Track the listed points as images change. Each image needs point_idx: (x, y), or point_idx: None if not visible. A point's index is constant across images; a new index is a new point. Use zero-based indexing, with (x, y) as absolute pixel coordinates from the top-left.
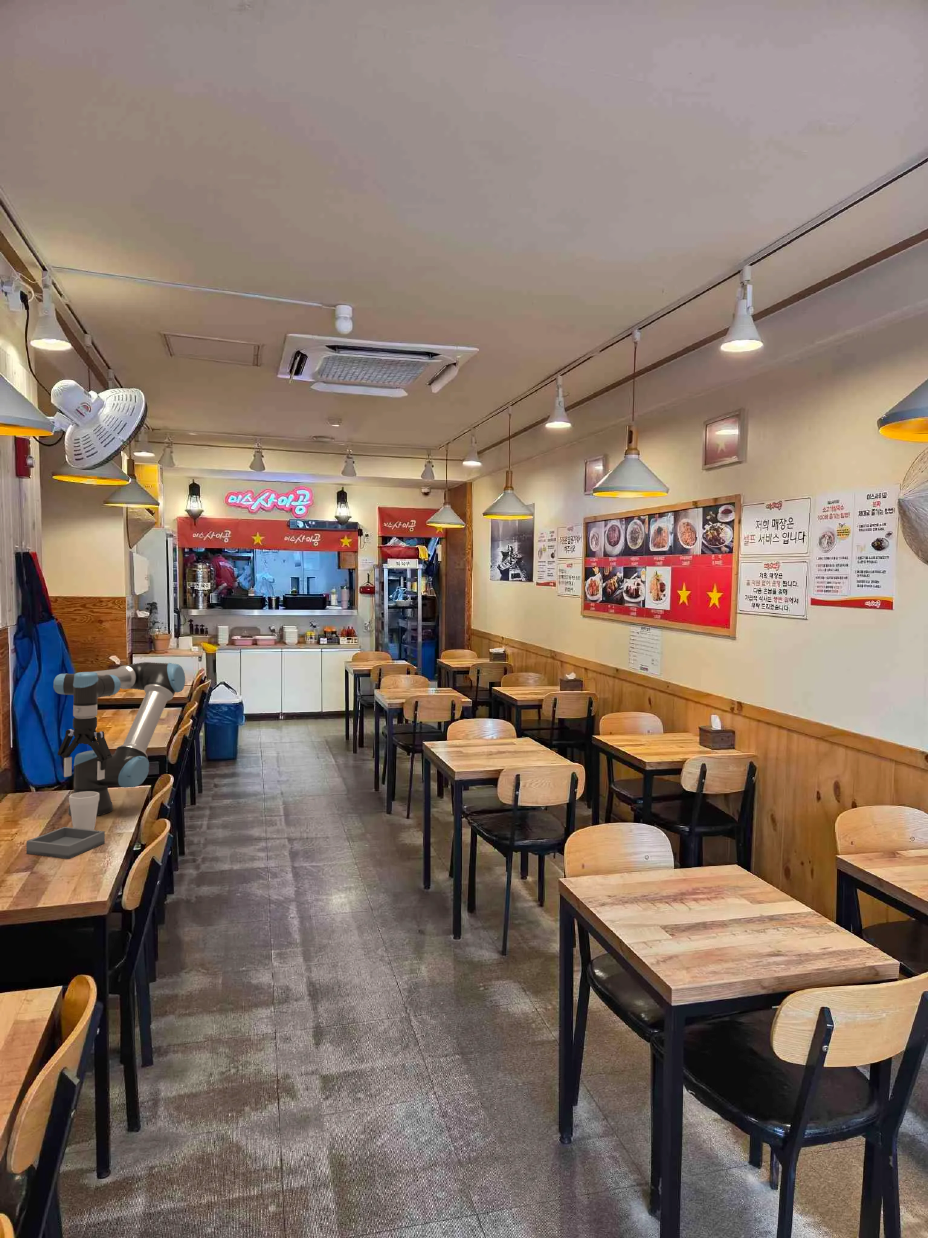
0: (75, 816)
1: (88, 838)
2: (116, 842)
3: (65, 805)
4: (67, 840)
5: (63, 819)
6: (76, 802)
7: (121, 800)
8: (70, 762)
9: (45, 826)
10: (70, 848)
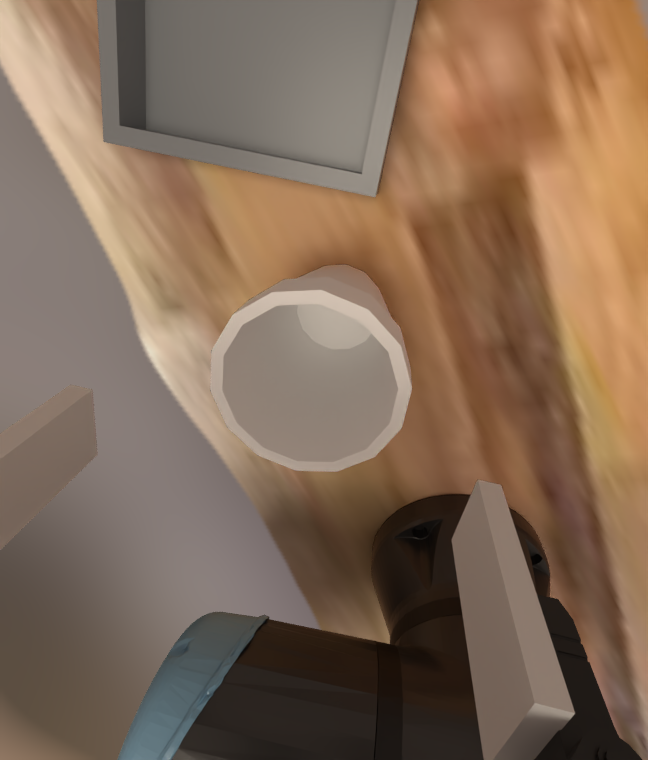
0: (340, 274)
1: None
2: (99, 171)
3: (598, 625)
4: (312, 105)
5: (525, 468)
6: (312, 283)
7: None
8: (480, 668)
9: (567, 370)
10: None
